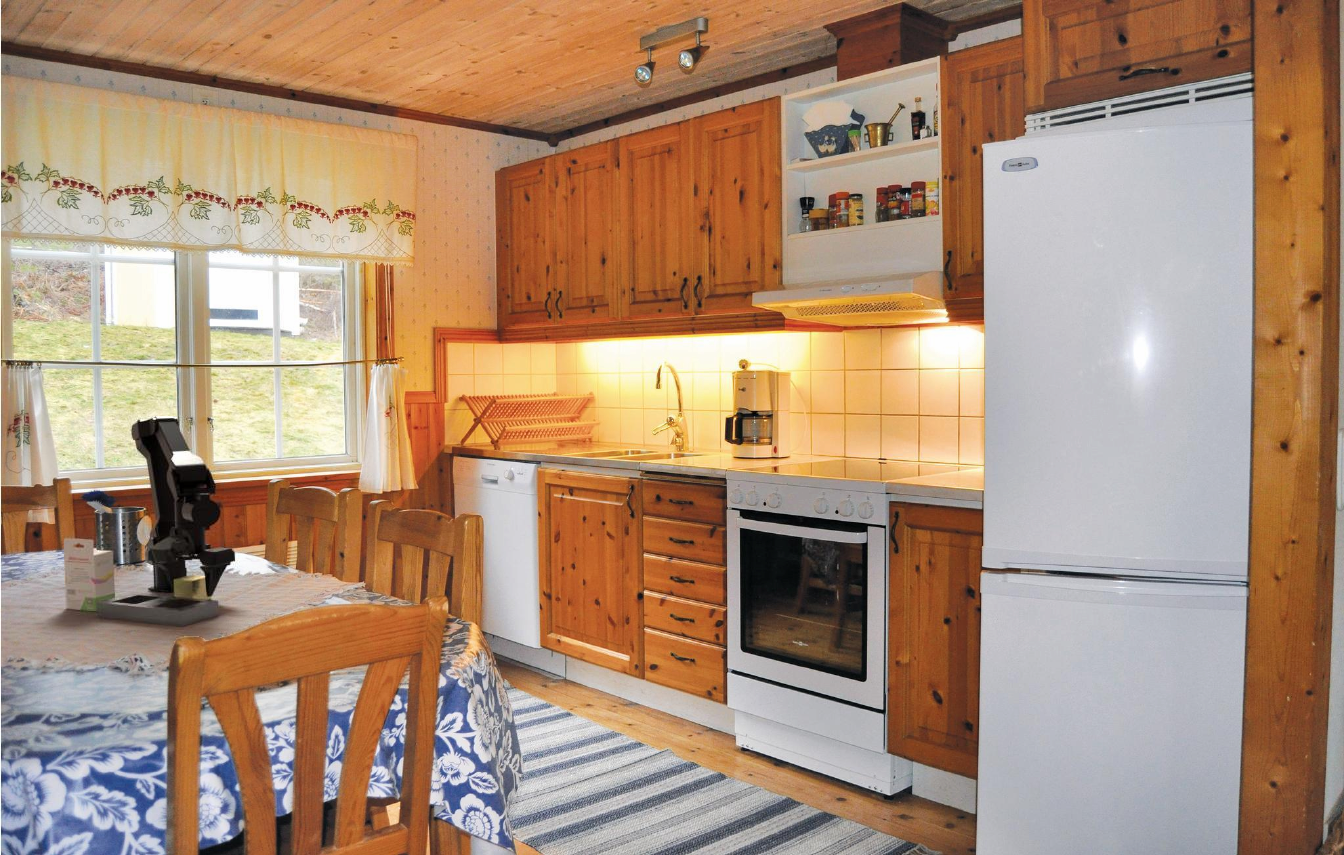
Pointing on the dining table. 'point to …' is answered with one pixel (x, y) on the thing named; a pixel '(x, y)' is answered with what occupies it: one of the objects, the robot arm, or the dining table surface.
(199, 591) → the natural wood cube
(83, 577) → the ink box
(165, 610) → the grey flat block
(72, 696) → the dining table surface
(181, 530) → the robot arm
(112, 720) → the dining table surface
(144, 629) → the dining table surface
